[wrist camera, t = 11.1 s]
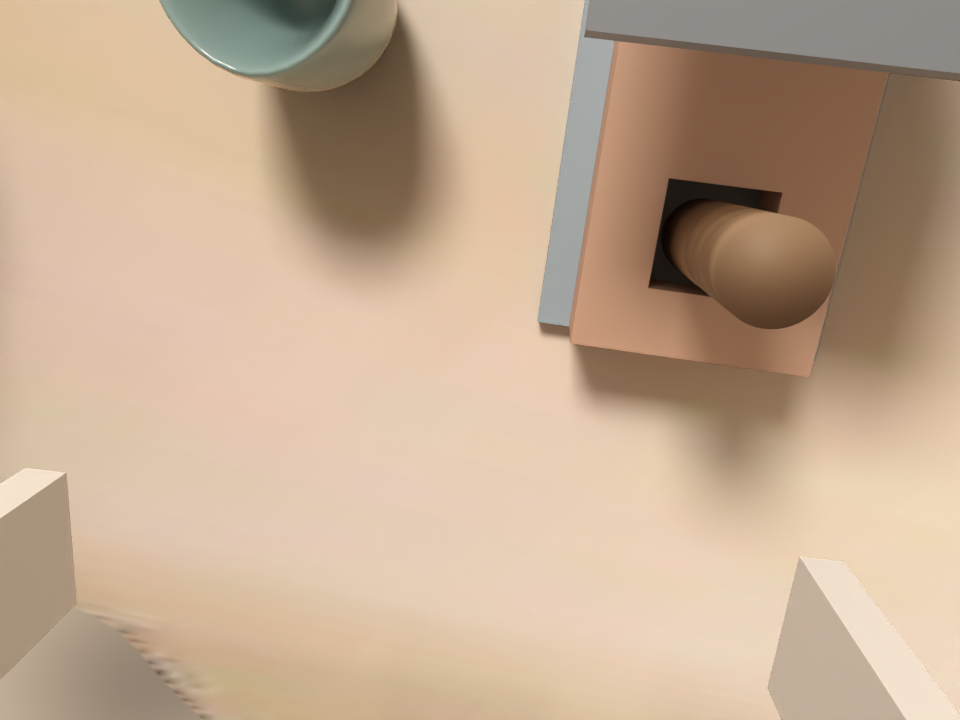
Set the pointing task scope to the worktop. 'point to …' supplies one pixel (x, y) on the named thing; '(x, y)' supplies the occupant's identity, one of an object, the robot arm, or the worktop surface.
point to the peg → (751, 260)
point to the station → (718, 153)
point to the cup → (287, 38)
